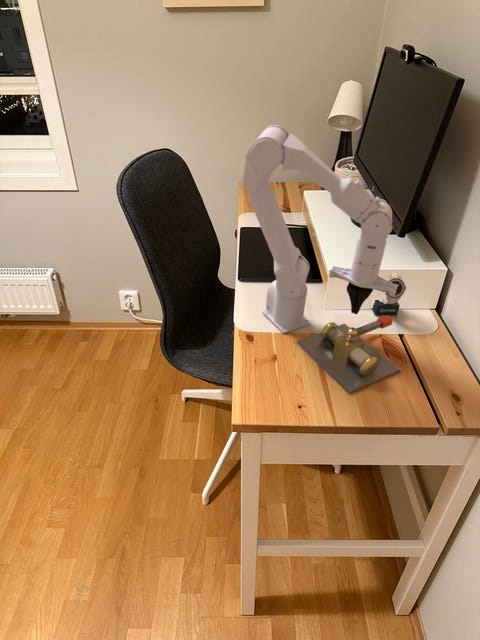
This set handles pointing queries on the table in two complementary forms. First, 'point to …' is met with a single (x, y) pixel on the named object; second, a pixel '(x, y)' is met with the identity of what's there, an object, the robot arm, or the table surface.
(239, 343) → the table surface
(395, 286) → the robot arm
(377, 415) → the table surface
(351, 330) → the lever
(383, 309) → the watch
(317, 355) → the valve
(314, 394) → the table surface
